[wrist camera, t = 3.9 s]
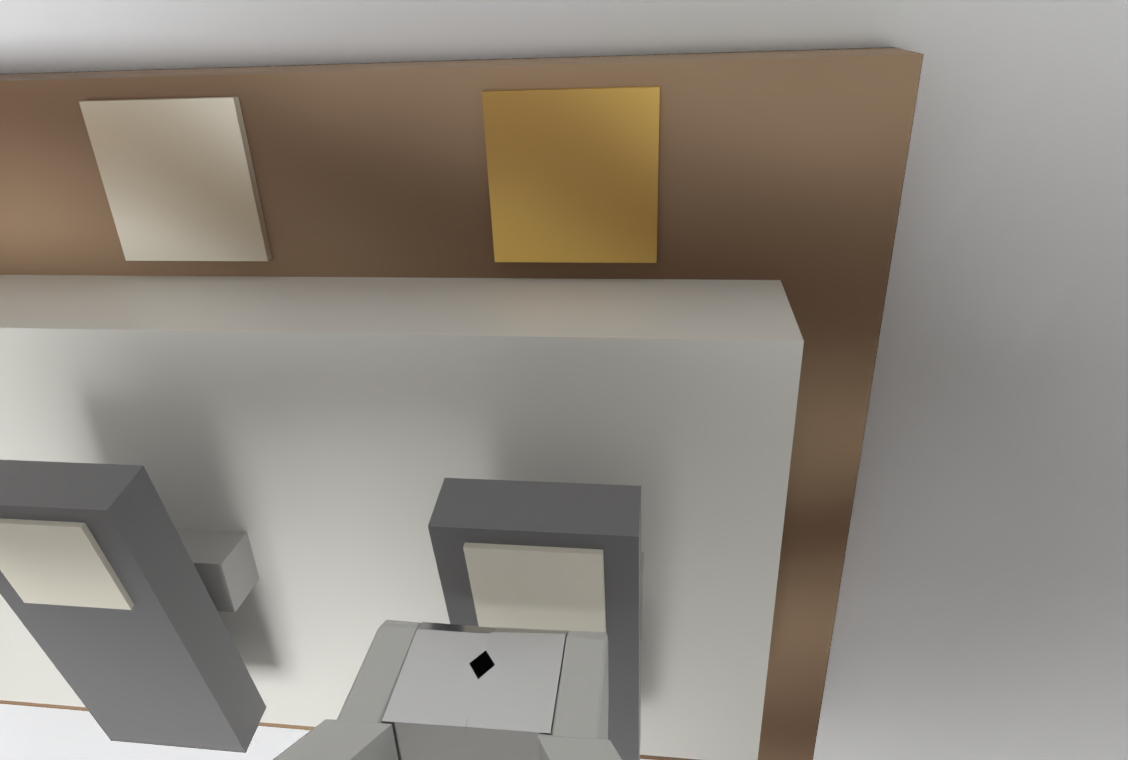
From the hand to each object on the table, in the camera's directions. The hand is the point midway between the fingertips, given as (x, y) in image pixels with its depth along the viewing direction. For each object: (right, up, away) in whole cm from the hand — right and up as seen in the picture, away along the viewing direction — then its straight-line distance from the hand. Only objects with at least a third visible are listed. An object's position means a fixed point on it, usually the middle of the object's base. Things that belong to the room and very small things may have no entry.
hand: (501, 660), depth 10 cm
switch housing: (-7, +2, +8) cm, 11 cm away
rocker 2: (+1, -1, +3) cm, 3 cm away
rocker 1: (-7, -1, +4) cm, 8 cm away
